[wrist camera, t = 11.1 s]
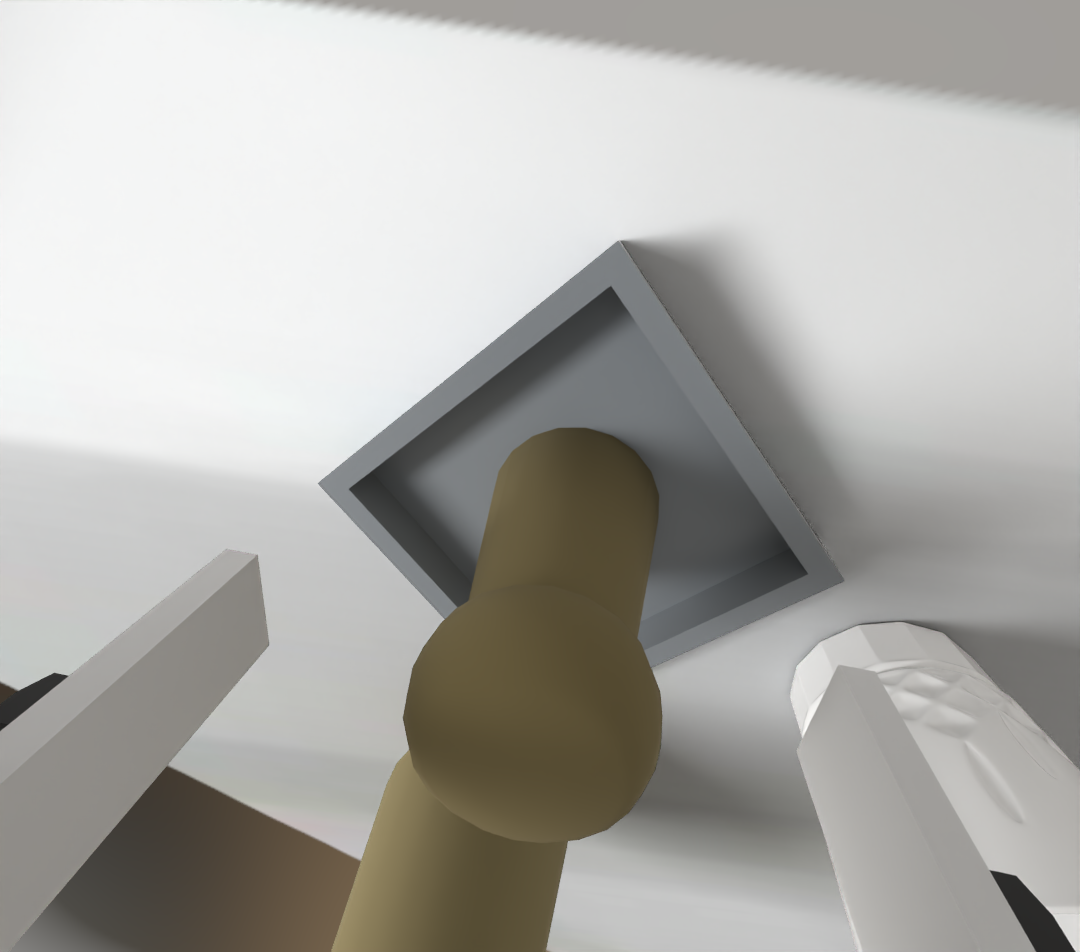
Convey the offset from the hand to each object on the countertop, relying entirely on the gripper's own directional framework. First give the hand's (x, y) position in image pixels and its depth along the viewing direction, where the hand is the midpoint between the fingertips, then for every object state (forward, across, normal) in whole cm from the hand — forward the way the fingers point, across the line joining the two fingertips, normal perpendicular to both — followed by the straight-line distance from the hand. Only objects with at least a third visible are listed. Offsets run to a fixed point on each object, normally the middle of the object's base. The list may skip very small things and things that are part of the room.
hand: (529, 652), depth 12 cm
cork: (+8, 0, 0) cm, 8 cm away
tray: (+9, 0, 0) cm, 9 cm away
